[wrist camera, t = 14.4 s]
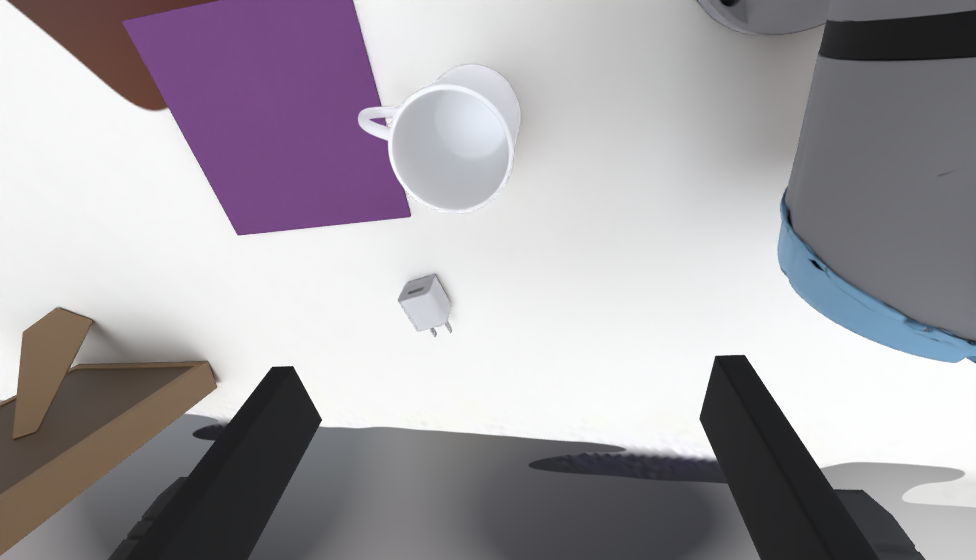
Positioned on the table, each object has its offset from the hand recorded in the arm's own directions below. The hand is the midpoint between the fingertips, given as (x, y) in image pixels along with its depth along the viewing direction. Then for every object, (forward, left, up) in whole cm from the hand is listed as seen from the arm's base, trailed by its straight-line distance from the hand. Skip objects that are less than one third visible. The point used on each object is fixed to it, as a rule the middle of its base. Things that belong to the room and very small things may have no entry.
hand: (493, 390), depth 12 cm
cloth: (+21, -5, -28) cm, 36 cm away
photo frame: (+57, +20, -28) cm, 67 cm away
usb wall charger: (+11, +16, -28) cm, 34 cm away
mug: (+5, -4, -28) cm, 29 cm away
